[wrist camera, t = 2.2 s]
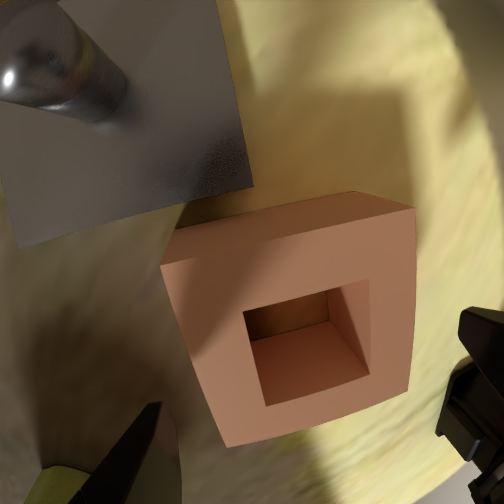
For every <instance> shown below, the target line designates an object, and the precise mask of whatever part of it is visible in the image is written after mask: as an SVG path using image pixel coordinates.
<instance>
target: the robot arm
mask: <svg viewBox="0 0 504 504" xmlns="http://www.w3.org/2000/svg"><path fill="white" fill-rule="evenodd" d="M458 337H459V340H460V341H461V343H462V344H463V345H464V347H465V348H466V350H467V351H468V353H469V354H470V356H471V357H472V359H473V360H474V362H473V363H471V364H470V365H468V366H466V367H464V368H463V369H461V370H459V371H457V372H456V373H454V374H453V375H452V376H451V378H450V380H449V384H448V388H447V392H446V396H445V400H444V404H443V407H442V411H441V414H440V418H439V421H438V424H437V428H436V431H435V434H436V435H437V436H438V437H440V436H442V435H445V436H446V438H447V439H448V440H449V441H450V443H451V444H452V445H453V446H454V448H455V449H456V450H457V451H458V453H459V454H460V455H461V456H462V458H463V459H464V460H465V461H467V462H469V461H471V460H472V461H473V462H474V464H475V465H476V466H477V467H478V469H479V470H480V471H481V472H482V474H481V475H479V477H477V478H476V479H474V480H473V481H472V482H471V483H469V484H468V488H469V490H470V492H471V497H472V499H473V501H474V503H475V504H504V312H503V311H497V310H491V309H485V308H479V307H473V306H472V307H469V308H466V309H464V310H463V311H462V312H461V314H460V320H459V327H458ZM80 489H81V490H78V491H77V492H76V493H75V495H74V496H73V497H72V498H71V500H70V501H69V502H68V503H67V504H182V479H181V467H180V459H179V450H178V441H177V432H176V426H175V422H174V420H173V418H172V416H171V414H170V412H169V410H168V409H167V407H166V405H165V403H164V402H162V401H159V402H152V403H149V404H147V405H146V407H145V408H144V409H143V410H142V412H141V413H140V414H139V415H138V417H137V418H136V419H135V420H134V422H133V423H132V424H131V426H130V427H129V428H128V429H127V431H126V432H125V433H124V434H123V436H122V437H121V438H120V439H119V441H118V442H117V443H116V444H115V445H114V447H113V448H112V449H111V450H110V452H109V453H108V454H107V455H106V457H105V458H104V459H103V460H102V462H101V463H100V464H99V465H98V467H97V468H96V469H95V470H94V472H93V473H92V474H91V475H90V476H89V478H88V479H87V480H86V481H85V483H84V484H83V485H82V486H81V488H80Z"/></svg>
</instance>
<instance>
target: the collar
mask: <svg viewBox="0 0 504 504" xmlns="http://www.w3.org/2000/svg"><path fill="white" fill-rule="evenodd" d="M160 268H161V271H162V275H163V278H164V281H165V284H166V288H167V291H168V294H169V297H170V300H171V303H172V306H173V310H174V313H175V316H176V319H177V322H178V324H179V327H180V330H181V333H182V336H183V339H184V342H185V345H186V347H187V350H188V353H189V356H190V358H191V361H192V364H193V367H194V369H195V372H196V375H197V377H198V380H199V382H200V385H201V387H202V390H203V393H204V395H205V398H206V400H207V403H208V405H209V407H210V410H211V412H212V415H213V417H214V420H215V422H216V424H217V427H218V429H219V431H220V434H221V436H222V438H223V440H224V443H225V445H226V447H227V448H228V447H233V446H238V445H243V444H248V443H252V442H257V441H261V440H265V439H269V438H273V437H277V436H281V435H285V434H289V433H293V432H296V431H300V430H303V429H307V428H310V427H313V426H316V425H320V424H323V423H326V422H329V421H332V420H335V419H338V418H341V417H344V416H347V415H349V414H352V413H355V412H358V411H360V410H363V409H366V408H368V407H371V406H373V405H376V404H378V403H381V402H383V401H386V400H388V399H390V398H393V397H395V396H397V395H400V394H402V393H404V392H406V391H408V384H409V376H410V368H411V359H412V349H413V338H414V325H415V308H416V224H415V208H414V207H411V206H407V205H404V204H400V203H397V202H393V201H390V200H386V199H382V198H379V197H375V196H371V195H367V194H364V193H360V192H356V191H352V192H347V193H342V194H337V195H332V196H327V197H321V198H316V199H311V200H306V201H302V202H297V203H292V204H287V205H282V206H278V207H273V208H268V209H263V210H259V211H254V212H250V213H245V214H241V215H236V216H232V217H227V218H223V219H219V220H214V221H210V222H206V223H201V224H197V225H193V226H189V227H184V228H180V229H176V230H174V231H173V233H172V236H171V238H170V241H169V243H168V246H167V249H166V251H165V254H164V256H163V259H162V261H161V264H160ZM325 290H326V291H327V300H328V310H329V321H326V322H323V323H319V324H316V325H312V326H309V327H305V328H302V329H298V330H294V331H291V332H287V333H283V334H279V335H276V336H272V337H268V338H264V339H260V340H256V341H252V342H250V341H249V337H248V333H247V329H246V325H245V320H244V316H243V311H247V310H251V309H255V308H259V307H263V306H267V305H271V304H275V303H279V302H283V301H287V300H291V299H295V298H299V297H303V296H306V295H310V294H314V293H317V292H321V291H325Z"/></svg>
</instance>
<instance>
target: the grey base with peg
mask: <svg viewBox="0 0 504 504" xmlns="http://www.w3.org/2000/svg"><path fill="white" fill-rule="evenodd" d="M0 176H1V181H2V186H3V190H4V195H5V199H6V203H7V207H8V211H9V215H10V219H11V223H12V226H13V230H14V233H15V237H16V240H17V243H18V247H19V250H20V249H23V248H26V247H29V246H32V245H35V244H38V243H41V242H44V241H48V240H51V239H54V238H57V237H60V236H64V235H67V234H70V233H73V232H77V231H80V230H83V229H87V228H90V227H94V226H97V225H101V224H104V223H108V222H111V221H115V220H118V219H122V218H126V217H129V216H133V215H137V214H141V213H144V212H148V211H152V210H156V209H160V208H164V207H168V206H172V205H176V204H180V203H184V202H188V201H192V200H197V199H201V198H205V197H210V196H214V195H218V194H223V193H227V192H232V191H236V190H241V189H246V188H251V187H254V185H253V180H252V175H251V170H250V165H249V160H248V155H247V150H246V145H245V140H244V135H243V130H242V125H241V120H240V115H239V110H238V106H237V101H236V96H235V91H234V86H233V81H232V77H231V72H230V67H229V62H228V58H227V53H226V48H225V44H224V39H223V34H222V30H221V25H220V20H219V16H218V11H217V7H216V2H215V0H61V1H58V2H55V1H54V0H9V1H8V2H6V3H5V4H3V5H2V6H1V7H0Z"/></svg>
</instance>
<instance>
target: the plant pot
mask: <svg viewBox="0 0 504 504" xmlns="http://www.w3.org/2000/svg"><path fill="white" fill-rule="evenodd" d="M89 476H90V474H88V473H85V472H82V471H80V470H77V469H73V468H69V467H65V466H52V467H50V468H48V469H43V470H42V471H41V473H40V475H39V477H38V478H37V480H36V482H35V484H34V485H33V487H32V489H31V491H30V493H29V495H28V497H27V498H26V500H25V502H24V504H67V503H68V502H69V501H70V500H71V498H72V497H73V496H74V495H75V493H76V492H77V491H78V490H81V489H80V488H81V486H82V485H83V484H84V483H85V481H86V480H87V479H88V478H89Z"/></svg>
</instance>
